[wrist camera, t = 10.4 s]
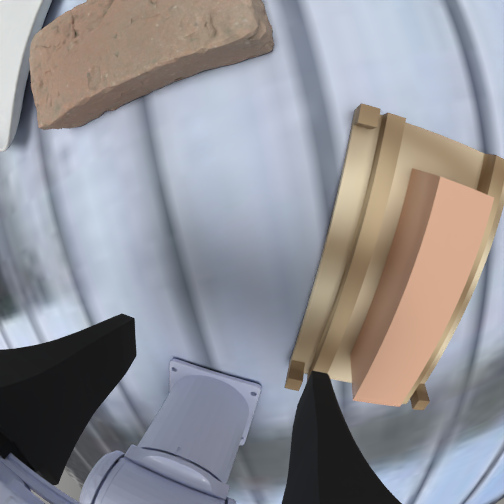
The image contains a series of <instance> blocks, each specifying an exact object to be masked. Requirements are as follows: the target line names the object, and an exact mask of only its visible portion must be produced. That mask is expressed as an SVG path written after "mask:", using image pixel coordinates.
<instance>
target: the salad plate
mask: <svg viewBox="0 0 504 504" xmlns="http://www.w3.org/2000/svg"><path fill="white" fill-rule="evenodd" d="M51 2H52V0H0V151H1V152H4V151H6V150H7V149H8V148H9V146H10V145H11V143H12V141H13V139H14V137H15V134H16V131H17V127H18V124H19V119H20V114H21V109H22V103H23V97H24V91H25V87H26V83H27V79H28V74H29V70H30V63H29V58H30V46H31V42H32V39H33V37H34V36H35V34H36V33H38V32H39V31H40V30H41V29H42V26H43V23H44V20H45V17H46V15H47V12H48V10H49V7H50V5H51Z"/></svg>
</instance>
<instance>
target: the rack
mask: <svg viewBox="0 0 504 504" xmlns="http://www.w3.org/2000/svg"><path fill="white" fill-rule="evenodd" d="M405 121H406V118H403V117H400V116H397V115H394V114H390V113H386V114H384V115H380V109H379V108H376V107H372V106H369V105H365V104H360V105H359V106H358V107H357V108H356V109H355V111H354V116H353V121H352V127H351V132H350V137H349V142H348V147H347V151H346V156H345V161H344V165H343V170H342V175H341V179H340V183H339V188H338V192H337V196H336V201H335V205H334V209H333V213H332V217H331V221H330V225H329V229H328V233H327V237H326V241H325V244H324V248H323V252H322V256H321V259H320V263H319V267H318V270H317V274H316V277H315V281H314V284H313V288H312V291H311V295H310V298H309V302H308V305H307V308H306V312H305V315H304V318H303V321H302V325H301V328H300V331H299V334H298V337H297V341H296V344H295V347H294V350H293V353H292V356H291V359H290V363H289V368H288V373H287V378H286V384H285V388H288V389H292V390H296V391H299V389H300V387H301V384H302V382H303V374H304V373H305V374H308V377H307V382H308V379H309V377H310V374H311V372H312V370H313V371H318V372H323V373H327V374H328V375H329V377H330V379H334V380H339V381H345V382H350V383H352V375H351V361H350V354H351V352H352V349H353V347H354V345H355V342H356V340H357V338H358V335H359V333H360V330H361V328H362V326H363V323H364V321H365V318H366V316H367V313H368V310H369V308H370V305H371V303H372V300H373V297H374V295H375V292H376V289H377V286H378V284H379V281H380V278H381V275H382V272H383V269H384V266H385V263H386V260H387V257H388V254H389V251H390V248H391V245H392V242H393V238H394V235H395V232H396V228H397V225H398V221H399V218H400V214H401V211H402V207H403V203H404V199H405V196H406V192H407V188H408V184H409V179H410V175H411V171H412V168H414V169H417V170H421V171H424V172H427V173H431V174H434V175H437V176H440V177H443V178H446V179H449V180H451V181H454V182H457V183H459V184H462V185H464V186H467V187H470V188H472V189H475V190H477V191H479V192H482V193H484V194H487V195H489V196H491V197H494V201H493V205H492V209H491V212H490V216H489V219H488V223H487V226H486V229H485V232H484V235H483V238H482V242H481V244H480V247H479V250H478V253H477V256H476V259H475V261H474V264H473V267H472V269H471V272H470V275H469V277H468V280H467V282H466V284H465V287H464V289H463V292H462V294H461V296H460V299H459V301H458V303H457V305H456V307H455V310H454V312H453V314H452V316H451V318H450V320H449V322H448V324H447V326H446V328H445V330H444V332H443V334H442V336H441V338H440V340H439V342H438V344H437V346H436V348H435V349H434V351H433V353H432V355H431V357H430V359H429V360H428V362H427V364H426V366H425V367H424V369H423V371H422V372H421V374H420V376H419V377H418V379H417V381H416V382H415V384H414V385H413V387H412V389H411V390H410V392H409V393H408V395H407V396H406V398H405V399H404V401H403V402H402V404H407V402H408V401H409V399H410V400H411V404H412V408H413V409H415V410H424V409H425V407H426V406H427V405H428V403H429V402H430V401H429V397H428V394H427V391H426V387H425V382H426V381H427V379H428V378H429V376H430V374H431V373H432V371H433V369H434V368H435V366H436V364H437V363H438V361H439V359H440V358H441V356H442V354H443V352H444V350H445V349H446V347H447V345H448V343H449V341H450V339H451V338H452V336H453V334H454V332H455V330H456V328H457V326H458V324H459V322H460V320H461V318H462V316H463V314H464V312H465V309H466V307H467V305H468V303H469V301H470V299H471V296H472V294H473V292H474V289H475V287H476V285H477V282H478V280H479V277H480V275H481V272H482V270H483V267H484V265H485V262H486V259H487V257H488V254H489V251H490V248H491V245H492V242H493V239H494V236H495V233H496V230H497V227H498V223H499V220H500V217H501V213H502V210H503V206H504V159H503V158H501V157H499V156H497V155H490V154H484V153H482V152H479V151H477V150H475V149H473V148H471V147H468V146H466V145H464V144H461V143H459V142H456V141H454V140H452V139H449V138H447V137H444V136H441V135H439V134H436V133H434V132H431V131H428V130H425V129H423V128H420V127H417V126H414V125H411V124H408V123H405Z"/></svg>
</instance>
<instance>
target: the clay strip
mask: <svg viewBox="0 0 504 504" xmlns="http://www.w3.org/2000/svg"><path fill="white" fill-rule="evenodd" d="M493 201H494V197H491V196H489V195H487V194H484V193H482V192H479V191H477V190H475V189H472V188H470V187H467V186H464V185H462V184H459V183H457V182H454V181H451V180H449V179H446V178H443V177H440V176H437V175H434V174H431V173H427V172H424V171H421V170H417V169H414V168H412V171H411V175H410V179H409V184H408V188H407V192H406V196H405V199H404V203H403V207H402V211H401V214H400V218H399V221H398V225H397V228H396V232H395V235H394V238H393V242H392V245H391V248H390V251H389V254H388V257H387V260H386V263H385V266H384V269H383V272H382V275H381V278H380V281H379V284H378V286H377V289H376V292H375V295H374V297H373V300H372V303H371V305H370V308H369V310H368V313H367V316H366V318H365V321H364V323H363V326H362V328H361V330H360V333H359V335H358V338H357V340H356V342H355V345H354V347H353V349H352V352H351V354H350V361H351V375H352V393H353V400H354V401H361V402H367V403H374V404H382V405H390V406H398V407H400V405H401V404H402V402H403V401H404V399H405V398H406V396H407V395H408V393H409V392H410V390H411V389H412V387H413V385H414V384H415V382H416V381H417V379H418V377H419V376H420V374H421V372H422V371H423V369H424V367H425V366H426V364H427V362H428V360H429V359H430V357H431V355H432V353H433V351H434V349H435V348H436V346H437V344H438V342H439V340H440V338H441V336H442V334H443V332H444V330H445V328H446V326H447V324H448V322H449V320H450V318H451V316H452V314H453V312H454V310H455V307H456V305H457V303H458V301H459V299H460V296H461V294H462V292H463V289H464V287H465V284H466V282H467V280H468V277H469V275H470V272H471V269H472V267H473V264H474V261H475V259H476V256H477V253H478V250H479V247H480V244H481V242H482V238H483V235H484V232H485V229H486V226H487V223H488V219H489V216H490V212H491V209H492V205H493Z"/></svg>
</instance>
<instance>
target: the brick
mask: <svg viewBox="0 0 504 504" xmlns="http://www.w3.org/2000/svg"><path fill="white" fill-rule="evenodd" d="M272 32H273V31H272V26H271V25H270V23H269V22H268V17H267V15H266V12H265V8H264V4H263V2H262V1H261V0H87V2H85V3H83V4H80V5H78V6H76V7H74V8H73V9H72V10H70V11H67V12H65V13H64V14H63V15H61V16H59V17H58V18H56V19H55V20H54V21H52V22H51V23H50V24H48V25H47V26H45V27H44V28H43V29H41V30H40V31H39V32H38V33H36V34H35V36H34V37H33V39H32V42H31V46H30V58H29V63H30V75H31V88H32V93H33V97H34V102H35V105H36V108H37V119H38V125H39V126H38V128H41V129H43V130H47V129H62V128H74V127H79V126H82V125H85V124H86V123H88V122H90V121H92V120H94V119H96V118H99V117H100V116H101V115H102V114H103V113H104V112H105V111H113V110H116V109H117V108H119V107H120V106H121V105H124V104H126V103H128V102H130V101H132V100H135V99H137V98H139V97H141V96H144V95H147V94H149V93H150V92H152V91H153V90H156V89H160V88H162V87H164V86H166V85H169V84H171V83H173V82H175V81H179V80H181V79H184V78H187V77H190V76H193V75H195V74H197V73H199V72H202V71H204V70H209V69H214V68H218V67H221V66H225V65H230V64H234V63H238V62H241V61H243V60H245V59H248V58H253V57H257V56H260V55H263V54H266V53H268V52H270V51H272V50H273V45H274V43H273V38H272Z"/></svg>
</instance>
